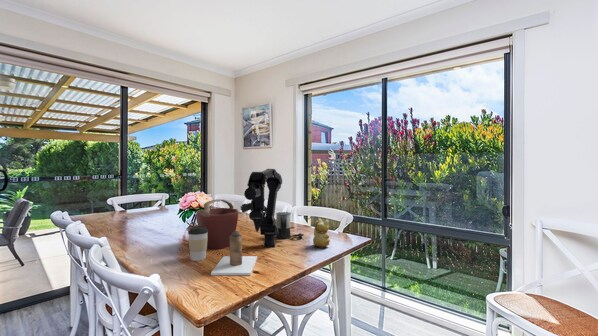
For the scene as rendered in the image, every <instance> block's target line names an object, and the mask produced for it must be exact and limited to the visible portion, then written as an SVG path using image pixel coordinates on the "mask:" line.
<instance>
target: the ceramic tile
mask: <svg viewBox="0 0 598 336" xmlns="http://www.w3.org/2000/svg"><path fill="white" fill-rule="evenodd" d="M257 260H258V256H257V255H247V256H246V255H242V264H241V265H238V266H231V265H230V255H228V256H226V255H223V256H222V258H220V260H219V262H218V263H217V264H216V265H215V267H214V268H213V269H212V270H211V272H210V276H251V275H252V273H253V271H254V268H255V265H256V262H257Z"/></svg>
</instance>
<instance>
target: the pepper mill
mask: <svg viewBox="0 0 598 336" xmlns="http://www.w3.org/2000/svg"><path fill="white" fill-rule="evenodd" d="M242 239H243V237H242V234H240V232H239V231H237V230H236V231H234V232H233V233H232V235H230V247H229V256H230V265H231V266H238V265H241V264H242V256H243V241H242Z"/></svg>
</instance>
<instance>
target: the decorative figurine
mask: <svg viewBox="0 0 598 336" xmlns="http://www.w3.org/2000/svg"><path fill="white" fill-rule="evenodd" d="M329 223H330V221H329V220H328V219H325V220H324V221H323V220H322V218H318V220H315V223H314V229H313V238H312V242H313V243H312V244H313V245H314V247H315V246H316V247H315V248H319V247H320V249H324V248H326V246H327V247H328V246H330V242H331V239H330V234H329V233H328V231H329V229H330V226H329ZM323 247H324V248H323Z"/></svg>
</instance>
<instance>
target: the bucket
mask: <svg viewBox="0 0 598 336" xmlns="http://www.w3.org/2000/svg"><path fill="white" fill-rule="evenodd" d="M219 201H221V202H223V203H225V204H226V205H227V206H228V207H219V208H218V207H216V208H211V207H210V205H212V204H214V203H215V202H219ZM195 218H196V223H197V226H204V227H206V228H207V229H208V234H207V236H208V239H207V249H206V250H223V249H227V248H230V235H232V233H233V232H234V231H237V227H238V226H237V225H238V220H239V210H238V208H235V207H234V205H233V203H232V202H230V201H228V200H226V199H223V198H222V199H221V198H219V199H217V198H216V199H211V200H209V201H206V202H205V203H203V209H202V210H198V211H196V212H195Z"/></svg>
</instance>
